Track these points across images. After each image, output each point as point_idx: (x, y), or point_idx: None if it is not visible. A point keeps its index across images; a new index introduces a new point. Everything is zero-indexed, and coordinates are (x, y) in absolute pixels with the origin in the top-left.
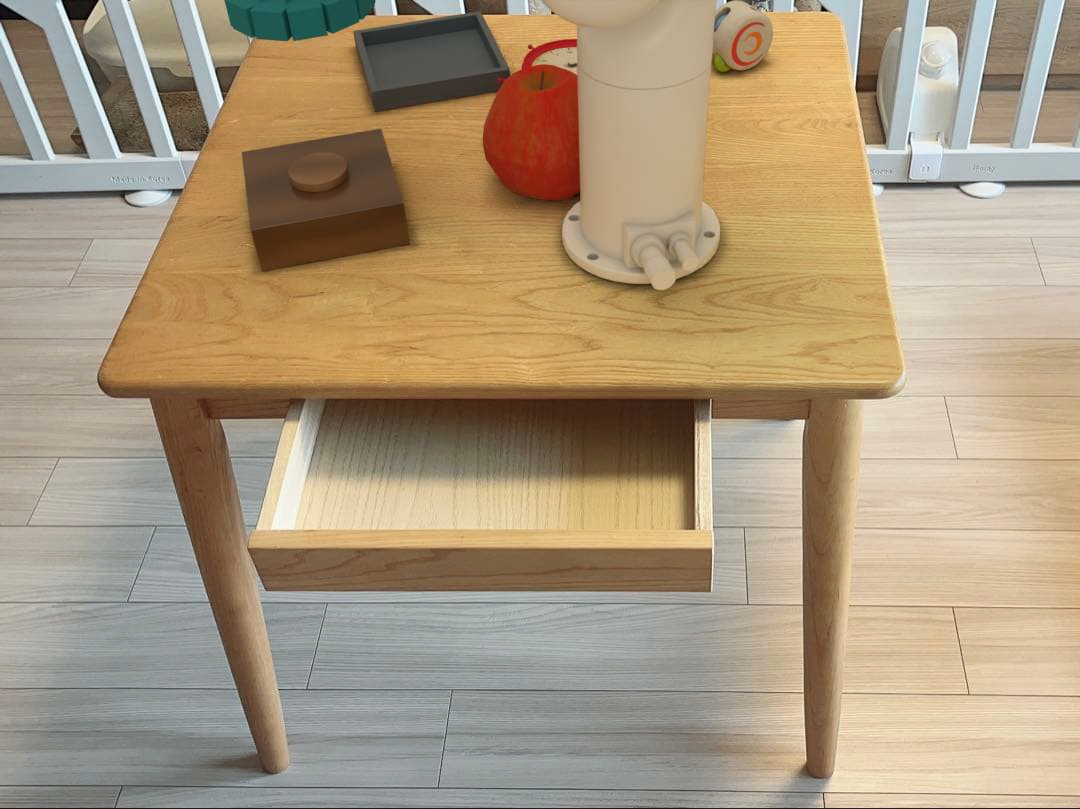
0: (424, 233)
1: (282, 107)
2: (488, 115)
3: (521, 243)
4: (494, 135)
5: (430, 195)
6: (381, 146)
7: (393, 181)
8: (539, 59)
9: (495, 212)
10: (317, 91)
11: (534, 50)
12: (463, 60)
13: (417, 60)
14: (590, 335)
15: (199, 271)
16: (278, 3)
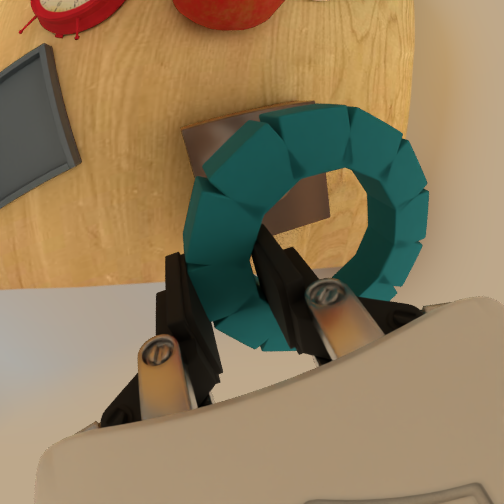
0: (283, 89)
1: (82, 247)
2: (241, 12)
3: (303, 24)
4: (265, 12)
5: (228, 85)
6: (217, 124)
7: (281, 108)
8: (55, 8)
9: (260, 35)
10: (54, 224)
11: (42, 15)
12: (7, 103)
13: (7, 146)
14: (387, 15)
15: (305, 244)
16: (402, 256)
